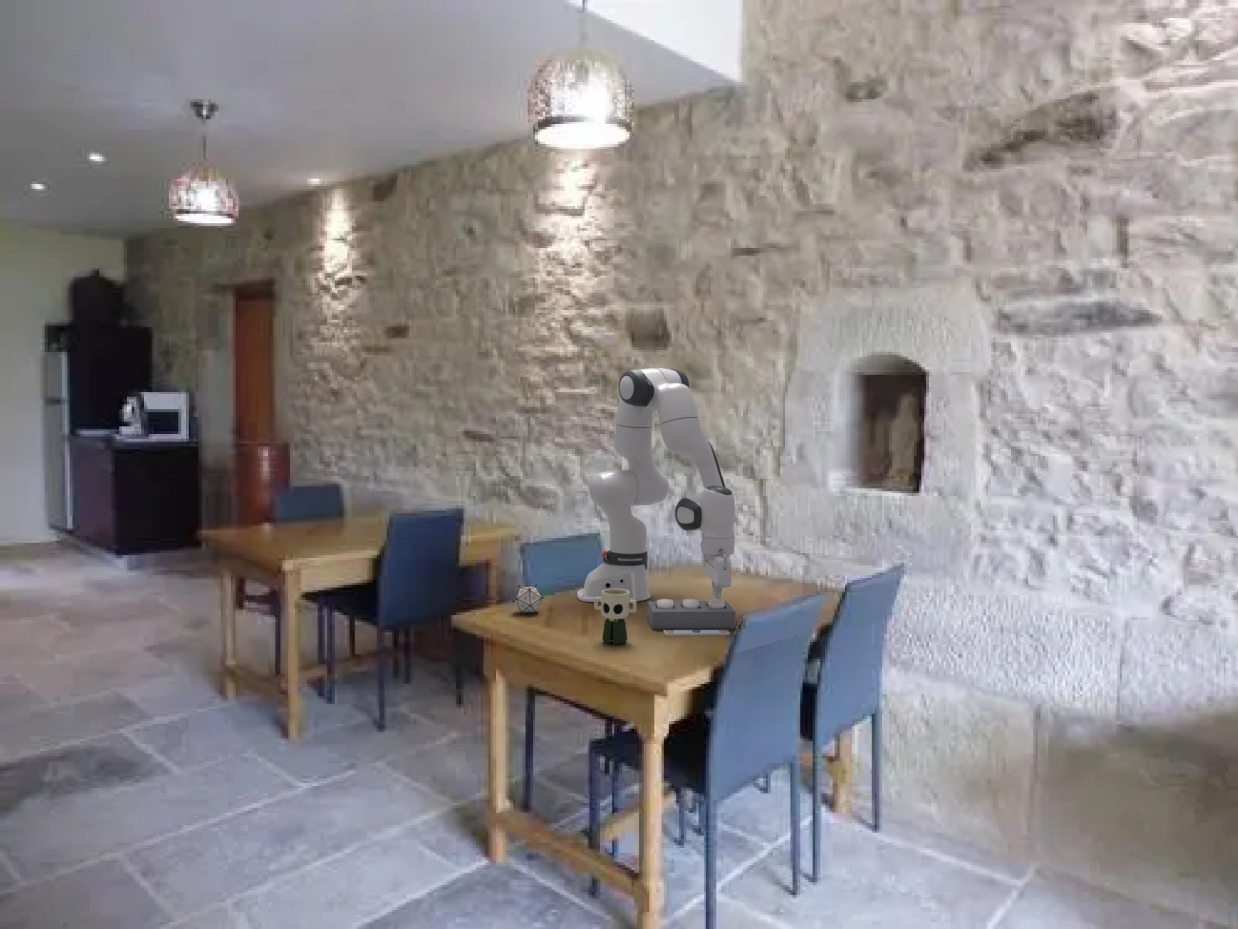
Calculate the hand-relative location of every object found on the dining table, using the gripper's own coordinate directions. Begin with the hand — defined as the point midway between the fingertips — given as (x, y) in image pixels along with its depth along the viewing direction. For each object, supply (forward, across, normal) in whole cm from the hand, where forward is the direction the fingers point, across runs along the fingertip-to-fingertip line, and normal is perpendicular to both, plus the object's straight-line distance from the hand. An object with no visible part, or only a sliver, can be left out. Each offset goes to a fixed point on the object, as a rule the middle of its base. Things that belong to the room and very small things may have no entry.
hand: (716, 597), depth 242 cm
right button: (+4, 0, 0) cm, 4 cm away
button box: (+8, 0, +7) cm, 10 cm away
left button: (+4, 0, +14) cm, 15 cm away
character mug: (+8, -17, +29) cm, 34 cm away
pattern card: (+8, -9, +7) cm, 14 cm away
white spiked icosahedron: (+8, +13, +51) cm, 53 cm away
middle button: (+4, 0, +7) cm, 8 cm away
